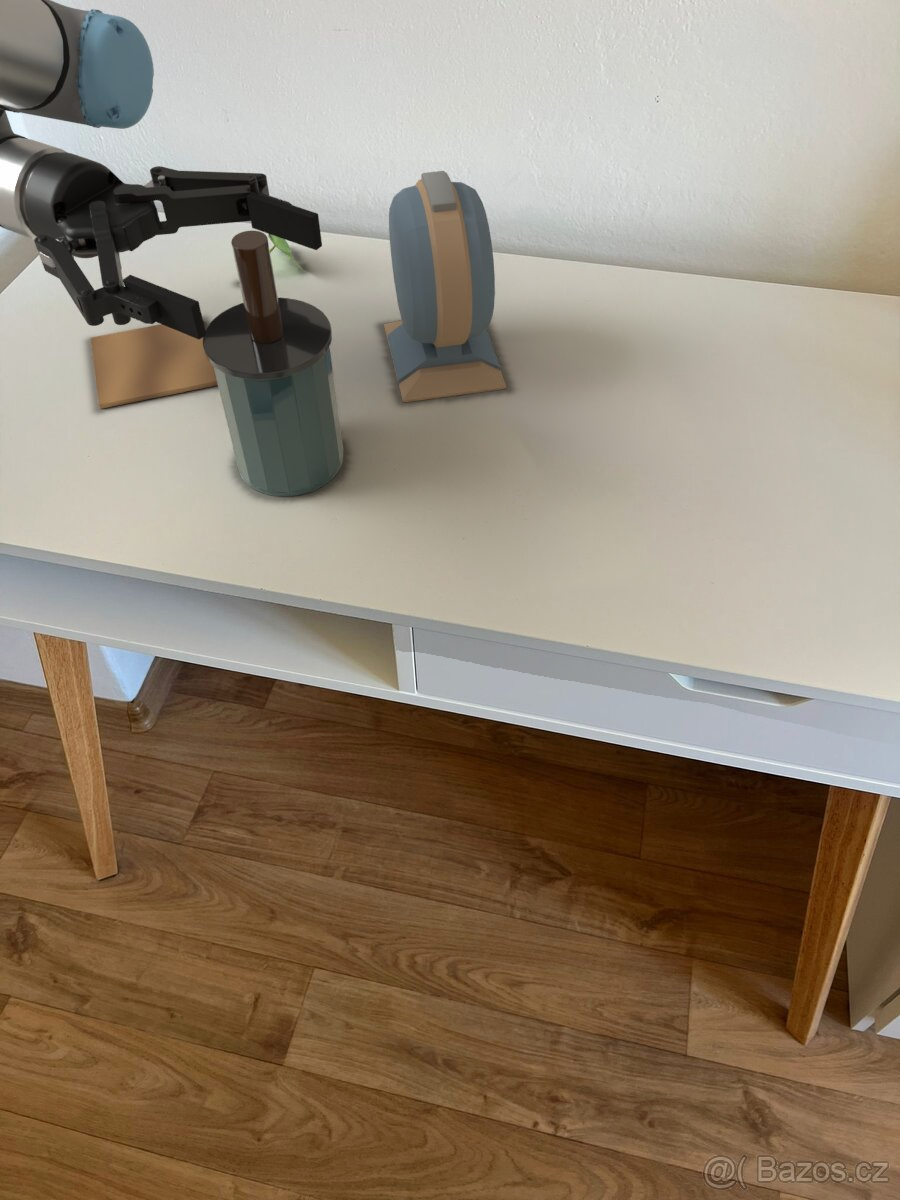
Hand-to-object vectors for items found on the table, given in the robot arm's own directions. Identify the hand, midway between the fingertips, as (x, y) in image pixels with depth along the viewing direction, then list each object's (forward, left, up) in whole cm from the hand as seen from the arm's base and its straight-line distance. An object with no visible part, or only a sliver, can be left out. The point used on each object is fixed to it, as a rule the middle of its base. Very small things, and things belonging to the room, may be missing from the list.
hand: (261, 274), depth 74 cm
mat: (-10, +18, -18) cm, 28 cm away
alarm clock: (+17, +10, -19) cm, 27 cm away
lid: (0, 0, -6) cm, 6 cm away
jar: (0, 0, -18) cm, 18 cm away
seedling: (+4, +31, -19) cm, 37 cm away
